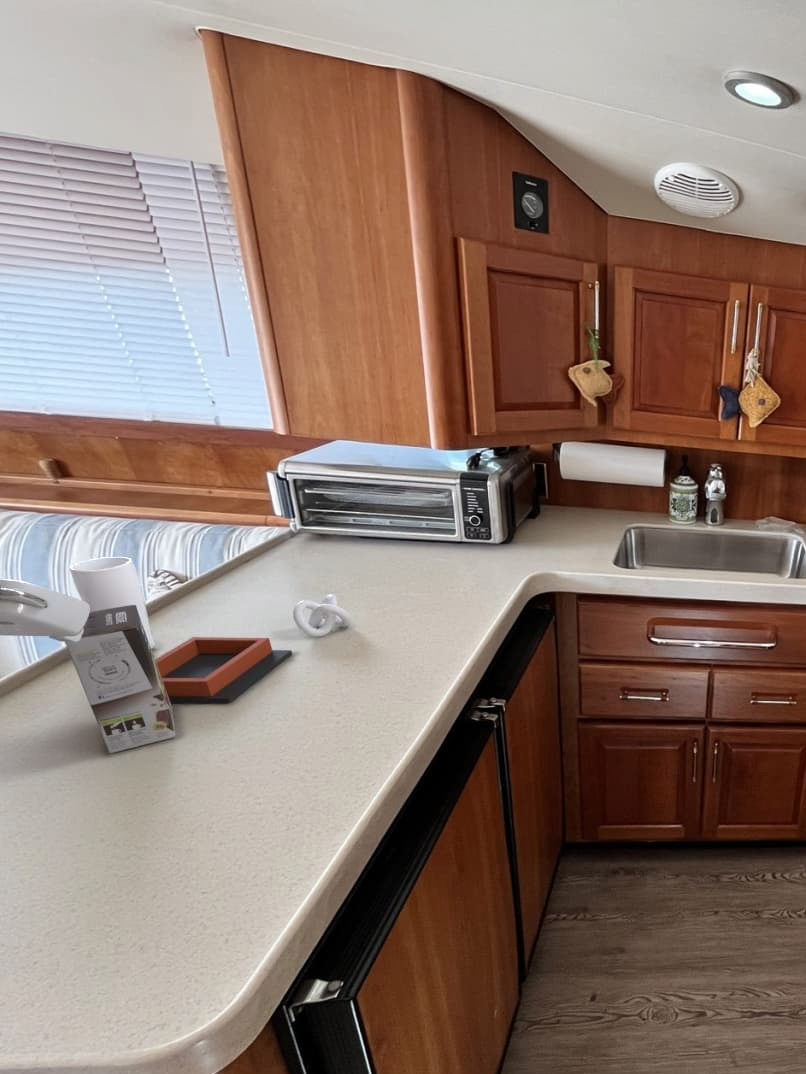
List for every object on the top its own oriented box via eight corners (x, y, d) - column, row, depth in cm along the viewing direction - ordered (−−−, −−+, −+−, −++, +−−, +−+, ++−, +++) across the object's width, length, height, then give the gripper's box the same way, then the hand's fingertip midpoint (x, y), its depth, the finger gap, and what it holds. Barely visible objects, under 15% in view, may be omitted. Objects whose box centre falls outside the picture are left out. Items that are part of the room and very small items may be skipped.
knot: (364, 621, 118) (358, 592, 115) (338, 640, 110) (331, 610, 108) (321, 619, 117) (314, 590, 115) (292, 638, 110) (284, 608, 107)
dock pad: (102, 703, 89) (94, 683, 88) (183, 653, 103) (177, 635, 101) (230, 703, 91) (223, 683, 90) (292, 654, 105) (288, 636, 104)
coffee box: (178, 736, 84) (139, 627, 77) (108, 755, 79) (61, 640, 73) (174, 706, 90) (137, 602, 83) (108, 722, 85) (64, 613, 79)
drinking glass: (120, 664, 98) (85, 574, 92) (92, 655, 100) (57, 566, 94) (172, 646, 104) (143, 561, 98) (145, 638, 106) (115, 553, 100)
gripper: (24, 557, 60) (143, 609, 72) (-243, 549, 57) (-71, 605, 69) (-5, 620, 57) (122, 663, 70) (-286, 615, 54) (-99, 661, 67)
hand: (25, 634), depth 70 cm, fingers open, 8 cm apart
